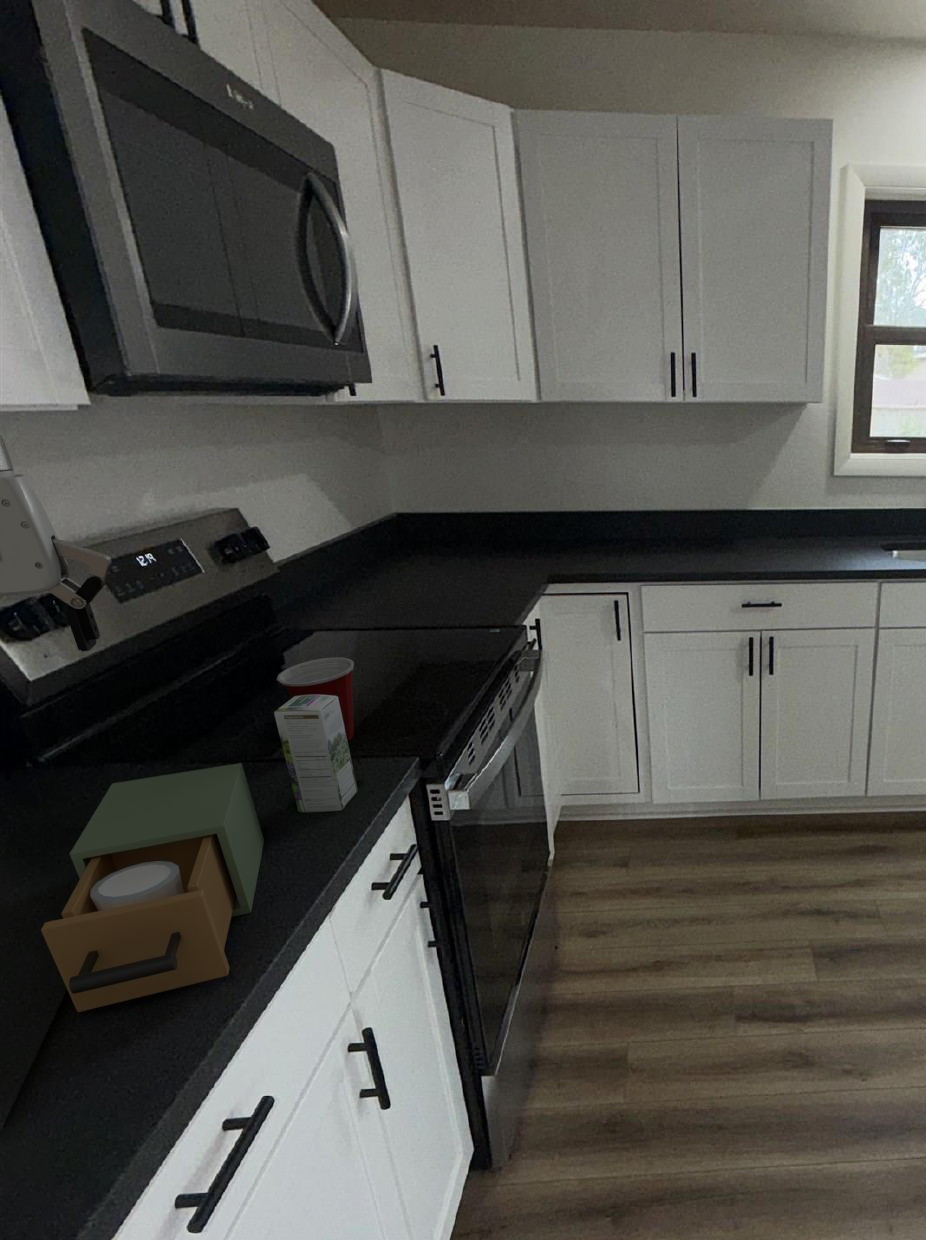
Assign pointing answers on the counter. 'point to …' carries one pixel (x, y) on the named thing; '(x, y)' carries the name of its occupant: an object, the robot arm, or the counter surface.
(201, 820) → the cabinet
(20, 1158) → the counter surface
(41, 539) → the robot arm
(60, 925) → the drawer
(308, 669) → the plastic cup
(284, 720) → the syrup box
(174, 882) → the white cup
